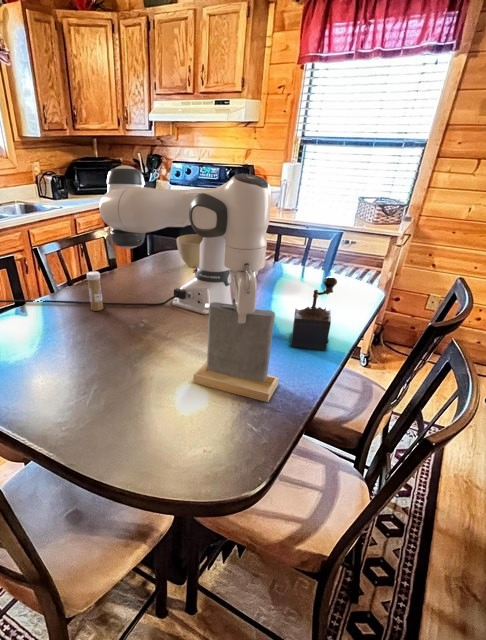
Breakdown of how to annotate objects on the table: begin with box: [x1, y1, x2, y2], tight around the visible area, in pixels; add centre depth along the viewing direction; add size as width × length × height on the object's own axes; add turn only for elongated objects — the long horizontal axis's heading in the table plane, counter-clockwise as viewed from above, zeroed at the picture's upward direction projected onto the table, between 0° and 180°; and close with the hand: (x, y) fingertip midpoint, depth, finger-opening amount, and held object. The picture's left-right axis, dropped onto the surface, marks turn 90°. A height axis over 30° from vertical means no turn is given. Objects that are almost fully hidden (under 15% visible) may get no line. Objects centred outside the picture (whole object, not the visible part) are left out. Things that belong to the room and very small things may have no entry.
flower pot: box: [176, 233, 203, 268], centre depth 194 cm, size 18×18×12 cm
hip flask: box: [206, 298, 276, 381], centre depth 101 cm, size 16×4×20 cm, turn 65°
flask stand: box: [193, 360, 280, 403], centre depth 107 cm, size 20×9×2 cm, turn 62°
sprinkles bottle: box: [86, 270, 104, 312], centre depth 149 cm, size 5×5×14 cm
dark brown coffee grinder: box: [290, 276, 338, 351], centre depth 125 cm, size 16×11×18 cm
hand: (240, 316), depth 98 cm, fingers closed on hip flask, 5 cm apart
